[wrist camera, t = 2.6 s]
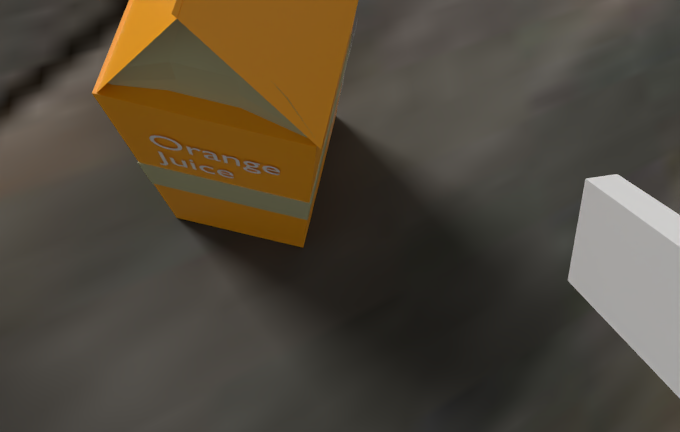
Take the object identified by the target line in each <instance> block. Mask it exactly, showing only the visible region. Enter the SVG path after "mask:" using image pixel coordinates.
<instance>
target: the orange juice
mask: <svg viewBox="0 0 680 432" xmlns="http://www.w3.org/2000/svg"><path fill="white" fill-rule="evenodd" d="M357 4H358V0H129V2H128V4H127V7H126V9H125V12H124V14H123V17H122V19H121V22H120V24H119V27H118V29H117V32H116V34H115V37H114V39H113V42H112V44H111V47H110V49H109V52H108V54H107V57H106V59H105V62H104V64H103V67H102V69H101V72H100V74H99V77H98V79H97V82H96V84H95V87H94V89H93V92H92V94H93V96H94V97H95V98H96V100H97V101H98V103H99V104H100V106H101V107H102V109H103V110H104V111H105V113H106V114H107V116H108V117H109V119H110V120H111V122H112V123H113V125H114V126H115V128H116V129H117V131H118V132H119V134H120V135H121V137H122V138H123V139H124V141H125V142H126V144H127V145H128V147H129V148H130V150H131V151H132V153H133V154H134V156H135V157H136V159H137V160H138V164H139V165H140V167H141V168H142V170H143V171H144V173H145V174H146V176H147V177H148V178H149V180H150V181H151V183H153V184H154V185H155V187H156V188H157V189H158V191H159V192H160V194H161V195H162V197H163V198H164V200H165V201H166V203H167V204H168V206H169V207H170V209H171V210H172V212H173V213H174V215H175V216H176V217H177V218H180V219H184V220H188V221H192V222H197V223H201V224H205V225H209V226H214V227H218V228H222V229H226V230H231V231H235V232H239V233H243V234H247V235H252V236H256V237H260V238H264V239H269V240H273V241H277V242H281V243H286V244H290V245H294V246H298V247H302V248H303V247H304V243H305V239H306V235H307V231H308V227H309V223H310V219H311V215H312V211H313V207H314V203H315V199H316V195H317V191H318V187H319V183H320V178H321V174H322V170H323V166H324V162H325V158H326V154H327V150H328V146H329V142H330V138H331V134H332V130H333V126H334V122H335V118H336V113H337V107H338V103H339V97H340V91H342V89H341V86H343V85H342V82H344V80H343V76H344V74H345V73H344V72H345V69H346V66H347V65H346V64H347V58H349V57H348V53H350V51H351V49H350V51H349V48H350V43H351V37H352V34H351V33H352V28H353V23H354V17H355V12H356V8H357ZM357 20H358V19H357ZM356 24H357V23H356ZM355 28H356V27H355ZM354 33H355V31H354ZM353 36H354V35H353ZM352 41H353V39H352ZM351 46H352V44H351ZM349 55H350V54H349Z"/></svg>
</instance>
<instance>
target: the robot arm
mask: <svg viewBox="0 0 680 432" xmlns="http://www.w3.org/2000/svg"><path fill="white" fill-rule="evenodd" d="M568 281H569V282H570V283H571V284H572V286H573V287H574V288H575V289H576V290H577V291H578V292H579V293H580V294H581V295H582V296H583V297H584V298H585V299H586V300H587V301H588V302H589V303H590V304H591V306H592V307H593V308H594V309H595V310H596V311H597V312H598V313H599V314H600V315H601V316H602V317H603V318H604V319H605V320H606V321H607V322H608V323H609V324H610V325H611V327H612V328H613V329H614V330H615V331H616V332H617V333H618V334H619V335H620V336H621V337H622V338H623V339H624V340H625V341H626V342H627V343H628V344H629V345H630V346H631V348H632V349H633V350H634V351H635V352H636V353H637V354H638V355H639V356H640V357H641V358H642V359H643V360H644V361H645V362H646V363H647V364H648V365H649V366H650V368H651V369H652V370H653V371H654V372H655V373H656V374H657V375H658V376H659V377H660V378H661V379H662V380H663V381H664V382H665V383H666V384H667V385H668V386H669V387H670V389H671V390H672V391H673V392H674V393H675V394H676V395H677V396H678V397H679V398H680V215H679V214H677V213H676V212H674V211H673V210H671V209H670V208H668V207H667V206H665V205H664V204H662V203H660V202H659V201H657V200H656V199H654V198H653V197H651V196H650V195H648V194H647V193H645V192H644V191H642V190H641V189H639V188H638V187H636V186H635V185H633V184H631V183H630V182H628V181H627V180H625V179H624V178H622V177H621V176H619V175H618V174H615V175H608V176H601V177H594V178H588V179H585V185H584V190H583V196H582V202H581V207H580V213H579V219H578V225H577V230H576V236H575V242H574V247H573V253H572V259H571V265H570V270H569V276H568Z"/></svg>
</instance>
